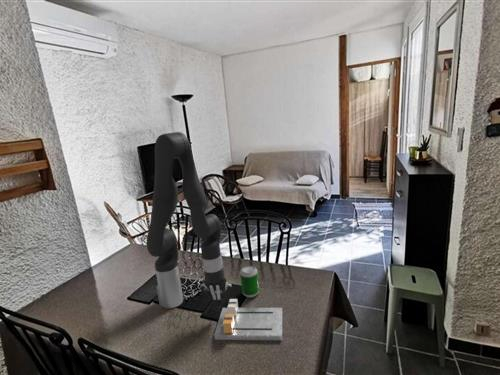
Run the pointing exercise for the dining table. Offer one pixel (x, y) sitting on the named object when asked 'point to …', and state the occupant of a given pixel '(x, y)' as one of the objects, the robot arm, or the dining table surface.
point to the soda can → (249, 281)
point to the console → (252, 324)
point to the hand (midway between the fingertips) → (218, 306)
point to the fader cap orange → (228, 323)
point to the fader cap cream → (233, 306)
